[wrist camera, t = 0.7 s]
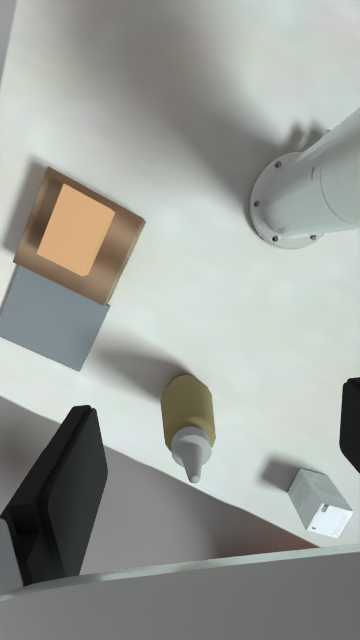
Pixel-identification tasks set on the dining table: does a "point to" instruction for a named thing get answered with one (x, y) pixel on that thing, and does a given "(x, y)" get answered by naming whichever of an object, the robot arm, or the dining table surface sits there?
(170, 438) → the squeeze bottle
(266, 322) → the dining table surface
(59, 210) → the tile
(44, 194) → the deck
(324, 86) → the dining table surface
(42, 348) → the mat
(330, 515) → the skincare box
